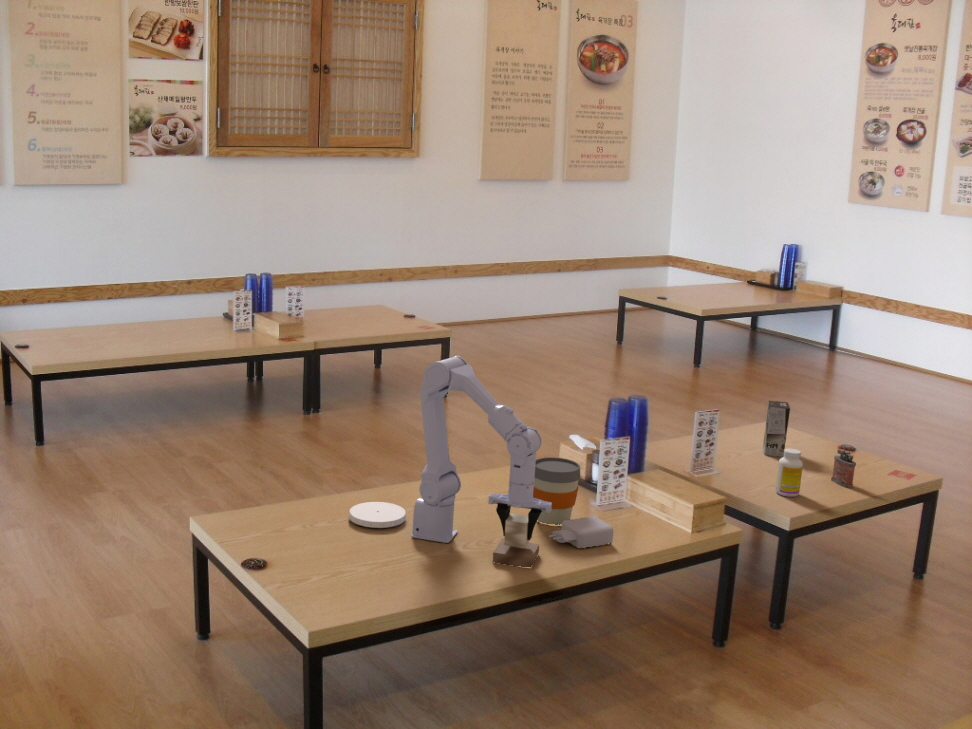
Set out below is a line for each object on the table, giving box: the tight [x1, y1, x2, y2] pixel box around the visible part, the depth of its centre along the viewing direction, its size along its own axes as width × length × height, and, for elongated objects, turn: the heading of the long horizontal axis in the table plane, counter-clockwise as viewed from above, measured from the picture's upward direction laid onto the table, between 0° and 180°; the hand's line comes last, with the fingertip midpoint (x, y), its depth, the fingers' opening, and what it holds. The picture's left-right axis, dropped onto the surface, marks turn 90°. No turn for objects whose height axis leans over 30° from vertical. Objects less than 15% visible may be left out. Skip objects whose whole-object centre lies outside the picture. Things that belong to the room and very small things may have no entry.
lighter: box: [830, 448, 857, 489], centre depth 323 cm, size 8×3×10 cm, turn 22°
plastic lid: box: [348, 501, 407, 529], centre depth 272 cm, size 14×14×2 cm
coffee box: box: [762, 400, 791, 458], centre depth 350 cm, size 9×6×16 cm
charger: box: [548, 515, 614, 549], centre depth 265 cm, size 5×9×15 cm
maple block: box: [503, 513, 531, 548], centre depth 252 cm, size 5×5×6 cm
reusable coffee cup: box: [533, 456, 581, 525], centre depth 278 cm, size 13×13×15 cm
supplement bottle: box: [775, 448, 804, 498], centre depth 310 cm, size 7×7×13 cm
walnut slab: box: [492, 538, 540, 568], centre depth 253 cm, size 9×9×3 cm
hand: (517, 536), depth 252 cm, fingers closed on maple block, 5 cm apart
